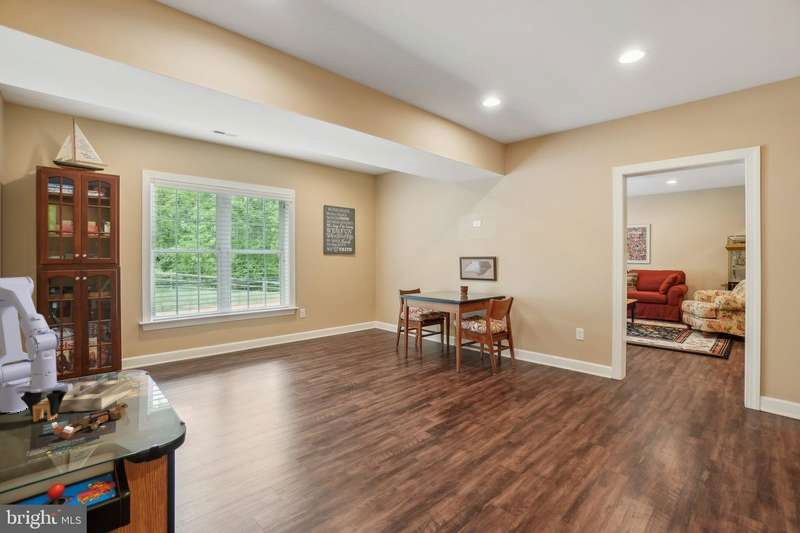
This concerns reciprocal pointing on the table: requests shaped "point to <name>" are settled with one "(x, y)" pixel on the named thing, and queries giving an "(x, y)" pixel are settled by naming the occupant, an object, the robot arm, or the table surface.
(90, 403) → the rectangular frame
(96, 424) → the character figurine
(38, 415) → the bracket
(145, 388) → the table surface
